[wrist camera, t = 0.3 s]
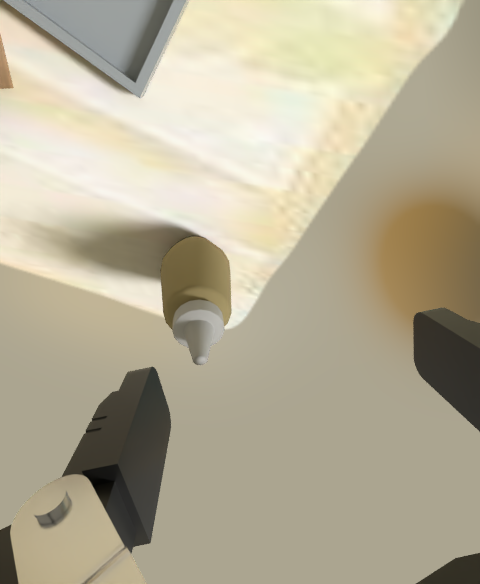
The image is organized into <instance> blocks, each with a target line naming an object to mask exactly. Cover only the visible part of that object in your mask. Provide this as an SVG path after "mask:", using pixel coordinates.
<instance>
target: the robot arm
mask: <svg viewBox="0 0 480 584" xmlns="http://www.w3.org/2000/svg"><path fill="white" fill-rule="evenodd" d="M413 324H414V362H415V366H416V368H417V370H418V372H419V374H420V375H421V377H422V378H423V379H424V380H425V381H426V382H427V383H428V384H430V385H431V387H433V388H434V389H435V390H436V391H437V392H438V393H439V394H440V395H441V396H442V397H443V398H444V399H445V400H447V401H448V402H449V403H450V404H451V405H452V406H453V407H454V408H455V409H456V410H457V411H458V412H459V413H461V414H462V415H463V416H464V417H465V418H466V419H467V420H468V421H469V422H470V423H471V424H472V425H474V427H475V428H477V429H478V430H479V431H480V323H477V322H474V321H470V320H467V319H465V318H463V317H461V316H459V315H458V314H456V313H454V312H452V311H450V310H448V309H446V308H438V309H433V310H429V311H424V312H419V313H417V314H416V315H415V316H414V322H413ZM170 429H171V419H170V412H169V408H168V405H167V402H166V399H165V395H164V392H163V389H162V386H161V383H160V380H159V376H158V373H157V371H156V369H155V368H154V367H149V368H145V369H139V370H135V371H130V372H128V373H127V374H126V376H125V378H124V380H123V383H122V385H121V387H120V389H119V391H115V392H112V393H111V394H110V395H109V396H108V397H107V398H106V399H105V400H104V401H103V402H102V403H101V404H100V405H99V406H98V408H97V410H96V412H95V414H94V416H93V418H92V422H90V423H89V425H88V428H87V429H86V434H84V435H83V437H82V439H81V441H80V443H79V445H78V447H77V449H76V451H75V452H74V454H73V456H72V458H71V460H70V462H69V464H68V466H67V468H66V470H65V471H64V473H63V475H62V477H61V478H58V479H56V480H54V481H52V482H50V483H48V484H47V485H45V486H44V487H42V488H41V489H39V490H38V491H37V492H36V493H35V494H33V495H32V496H31V497H30V498H29V499H28V500H27V501H26V502H25V503H24V505H23V506H22V507H21V508H20V510H19V511H18V513H17V514H16V516H15V518H14V520H13V523H12V525H10V526H8V527H5V528H3V529H1V530H0V584H147V583H146V581H145V579H144V577H143V575H142V574H141V572H140V570H139V568H138V566H137V564H136V563H135V561H134V559H133V557H132V555H131V553H132V549H133V547H135V546H139V545H144V544H149V543H150V542H151V537H152V531H153V525H154V520H155V514H156V508H157V503H158V497H159V492H160V486H161V480H162V475H163V469H164V464H165V458H166V453H167V446H168V441H169V436H170ZM416 584H480V553H478V554H473V555H468V556H464V557H460V558H455V559H454V560H452V561H451V562H449V563H447V564H446V565H444V566H443V567H441V568H440V569H438V570H437V571H435V572H433V573H432V574H431V575H429V576H427V577H426V578H424V579H423V580H421V581H420V582H418V583H416Z"/></svg>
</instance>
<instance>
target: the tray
mask: <svg viewBox="0 0 480 584" xmlns="http://www.w3.org/2000/svg"><path fill="white" fill-rule="evenodd" d="M4 1H5V2H6V3H8V4H9V5H11V6H12V7H13V8H15V9H16V10H18V11H19V12H20V13H22V14H23V15H24V16H26V17H27V18H29V19H30V20H31V21H33V22H34V23H36V24H37V25H38V26H40V27H41V28H43V29H44V30H45V31H47V32H48V33H50V34H51V35H52V36H54V37H55V38H57V39H58V40H59V41H61V42H62V43H64V44H65V45H66V46H68V47H69V48H70V49H72V50H73V51H75V52H76V53H77V54H79V55H80V56H82V57H83V58H84V59H86V60H87V61H89V62H90V63H91V64H93V65H94V66H96V67H97V68H98V69H100V70H101V71H103V72H104V73H105V74H107V75H108V76H110V77H111V78H112V79H114V80H115V81H116V82H118V83H119V84H121V85H122V86H123V87H125V88H126V89H128V90H129V91H130V92H132V93H133V94H135V95H136V96H137V97H139V98H141V97H143V96H144V94H145V92H146V89H147V87H148V85H149V83H150V81H151V79H152V77H153V75H154V73H155V71H156V69H157V66H158V64H159V62H160V60H161V58H162V56H163V54H164V52H165V50H166V48H167V46H168V44H169V41H170V39H171V37H172V35H173V33H174V31H175V29H176V27H177V25H178V23H179V21H180V19H181V16H182V14H183V12H184V10H185V8H186V6H187V4H188V2H189V0H4Z"/></svg>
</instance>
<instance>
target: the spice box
mask: <svg viewBox="0 0 480 584" xmlns="http://www.w3.org/2000/svg"><path fill="white" fill-rule="evenodd" d="M4 88H13V84H12V80H11V76H10V72H9V68H8V64H7V59H6V55H5V51H4V47H3V43H2V39H1V35H0V89H4Z"/></svg>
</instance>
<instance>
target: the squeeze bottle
mask: <svg viewBox="0 0 480 584" xmlns="http://www.w3.org/2000/svg"><path fill="white" fill-rule="evenodd" d="M160 271H161V286H162V300H163V313H164V317H165V320H166V323H167V324H168V325H169V327H170V328H171V329H172V330H173V334H174V338H175V339H176V340H177V341H178V342H179V343H180V344H182V345H183V346H186V347H188V348H189V350H190V353H191V356H192V359H193V362H194V363H195V364H197V365H203V364H205V363H206V362H207V360H208V356H209V351H210V347H211V346H212V345H214V344H215V343H216V342H218V341H219V340H220V339H221V338H222V336H223V333H224V330H225V329H224V326H225V325H226V324H227V323H228V321H229V318H230V315H231V283H230V266H229V260H228V259H227V257H226V255H225V254H224V252H223V251H222V250H221V249H220V248H218V247H217V246H216V245H214V244H213V243H212V242H210V241H209V240H207V239H206V238H202V237H198V236H194V237H187V238H185V239H183V240H181V241H179V242H178V243H177V244H175V245H174V246H173V247H172V248H171V249H170V250H169V251H168V252H167V254H166V255H165V256H164V258H163V261H162V265H161V270H160Z"/></svg>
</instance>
